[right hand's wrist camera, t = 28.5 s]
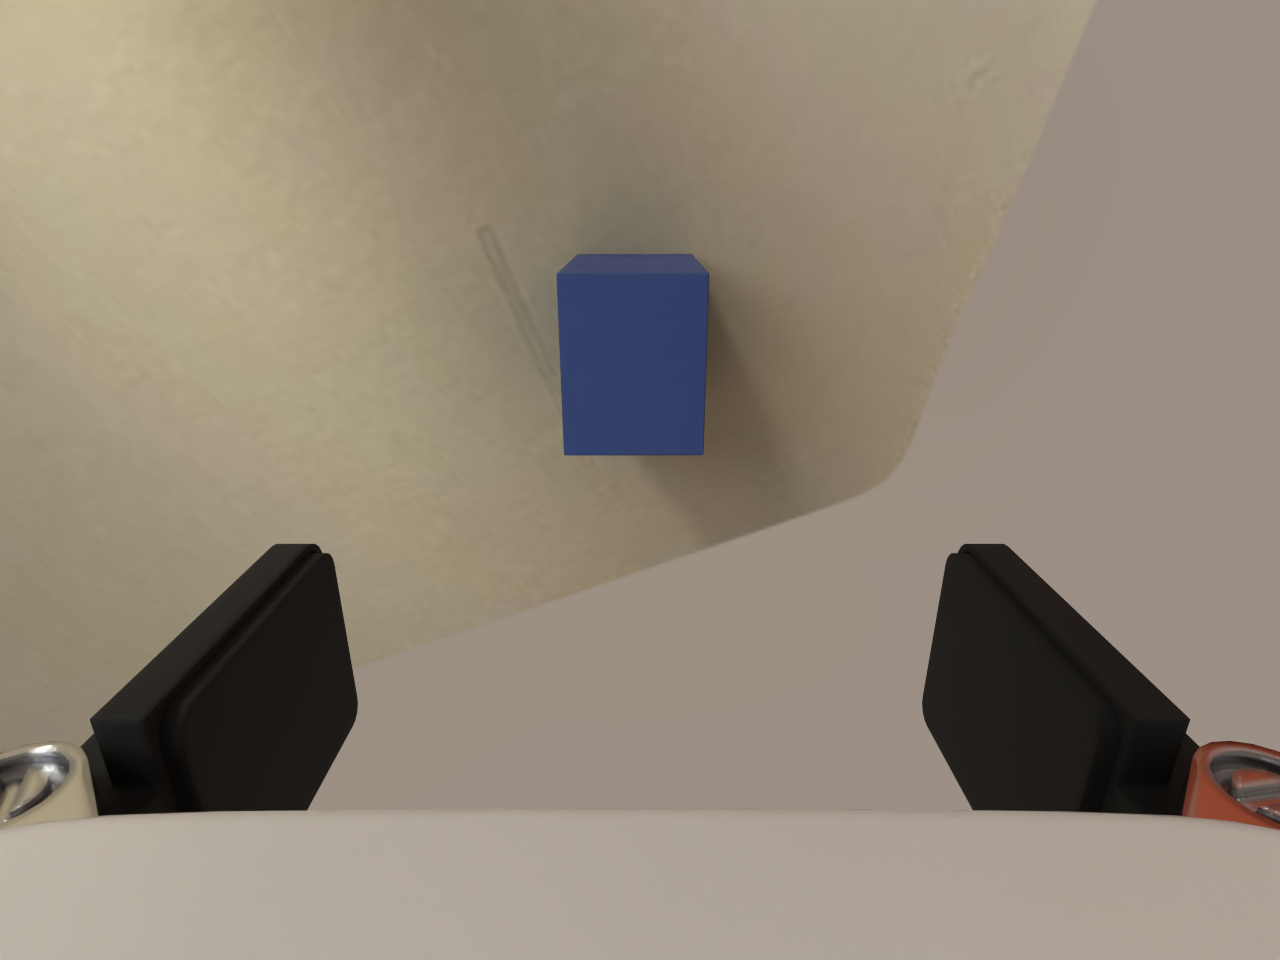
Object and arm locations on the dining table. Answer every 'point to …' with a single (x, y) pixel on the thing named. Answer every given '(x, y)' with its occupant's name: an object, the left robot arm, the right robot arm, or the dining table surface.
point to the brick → (633, 354)
